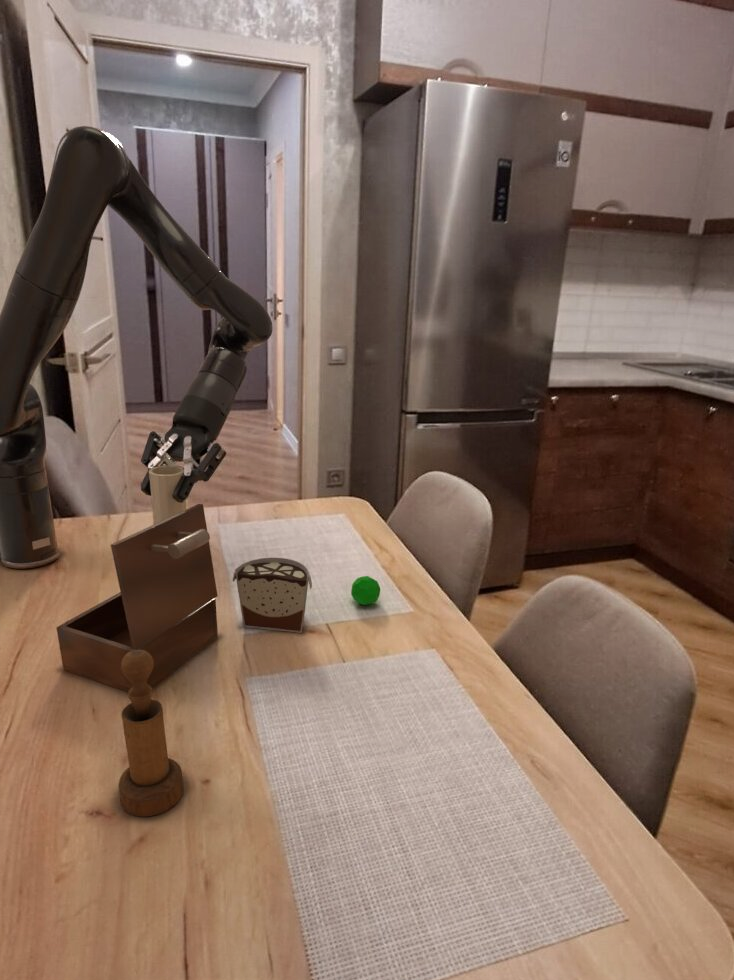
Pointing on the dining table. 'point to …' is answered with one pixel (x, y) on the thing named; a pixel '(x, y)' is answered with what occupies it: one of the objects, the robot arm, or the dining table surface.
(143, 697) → the mortar and pestle
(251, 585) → the food container
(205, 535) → the box lid
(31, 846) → the dining table surface
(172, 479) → the ceramic cup
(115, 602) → the walnut box
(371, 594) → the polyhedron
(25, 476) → the robot arm
